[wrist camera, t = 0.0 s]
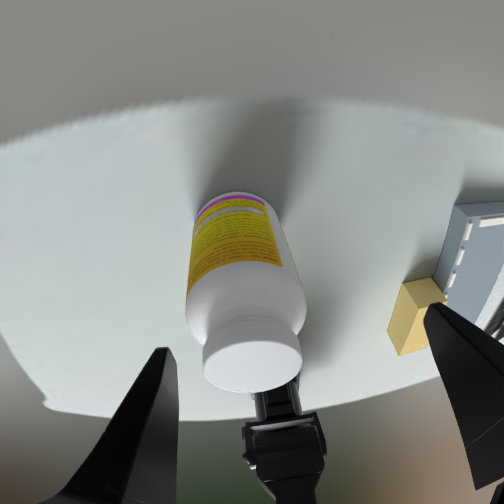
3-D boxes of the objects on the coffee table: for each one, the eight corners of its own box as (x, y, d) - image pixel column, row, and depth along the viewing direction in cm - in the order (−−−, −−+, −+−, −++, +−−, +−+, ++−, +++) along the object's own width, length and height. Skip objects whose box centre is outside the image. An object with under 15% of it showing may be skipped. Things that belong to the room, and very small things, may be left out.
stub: (413, 324, 34) (426, 347, 31) (386, 331, 34) (398, 356, 31) (430, 277, 29) (448, 301, 26) (402, 283, 29) (418, 309, 26)
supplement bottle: (176, 222, 23) (149, 364, 12) (245, 171, 21) (274, 296, 11) (229, 275, 26) (240, 412, 16) (294, 233, 25) (344, 367, 14)
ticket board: (466, 312, 35) (475, 325, 33) (414, 328, 35) (422, 343, 32) (508, 201, 25) (523, 212, 22) (453, 204, 24) (470, 218, 22)
